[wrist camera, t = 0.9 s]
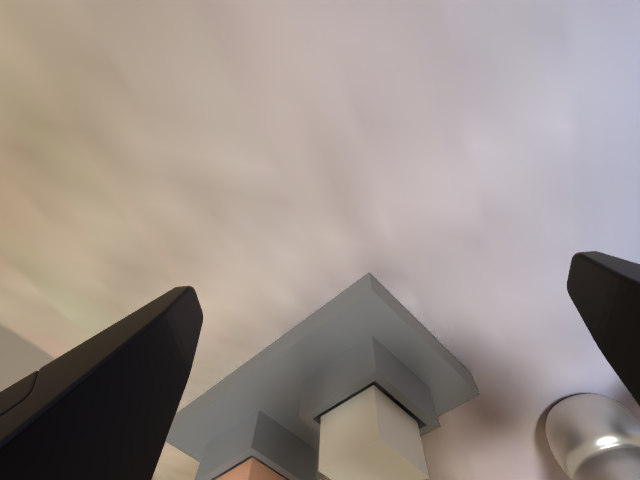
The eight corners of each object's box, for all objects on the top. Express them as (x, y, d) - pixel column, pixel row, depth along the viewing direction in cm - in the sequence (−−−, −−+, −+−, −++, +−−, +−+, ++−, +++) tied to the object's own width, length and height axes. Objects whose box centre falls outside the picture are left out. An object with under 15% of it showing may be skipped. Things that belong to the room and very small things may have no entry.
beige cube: (417, 422, 24) (429, 477, 21) (364, 449, 25) (368, 505, 22) (373, 385, 23) (379, 438, 20) (320, 416, 24) (318, 470, 21)
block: (470, 372, 28) (495, 433, 24) (272, 482, 36) (263, 543, 31) (369, 272, 25) (376, 321, 20) (171, 417, 32) (144, 476, 28)
